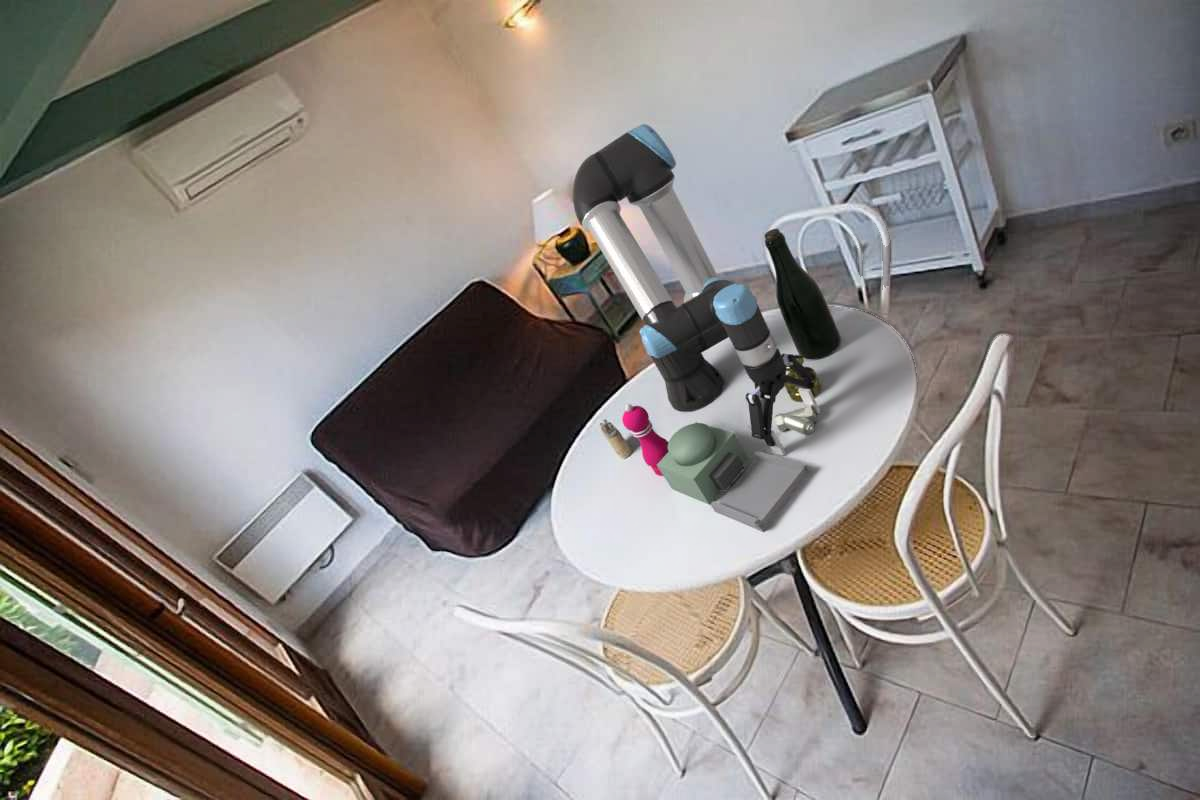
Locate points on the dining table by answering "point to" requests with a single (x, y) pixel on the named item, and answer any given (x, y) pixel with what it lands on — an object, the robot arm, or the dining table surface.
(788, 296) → the dark green wine bottle
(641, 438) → the pepper mill
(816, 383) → the brass rounded piece
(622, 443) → the tan cylindrical piece
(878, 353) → the dining table surface
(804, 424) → the pipe fitting
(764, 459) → the tray
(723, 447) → the mower housing
